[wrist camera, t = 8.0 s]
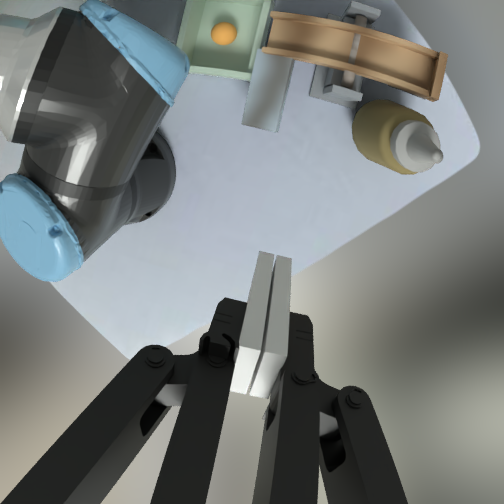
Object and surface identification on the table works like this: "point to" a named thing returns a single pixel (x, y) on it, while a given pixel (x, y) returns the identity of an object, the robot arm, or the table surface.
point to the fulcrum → (330, 78)
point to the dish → (234, 54)
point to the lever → (336, 62)
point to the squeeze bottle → (396, 137)
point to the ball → (223, 33)
